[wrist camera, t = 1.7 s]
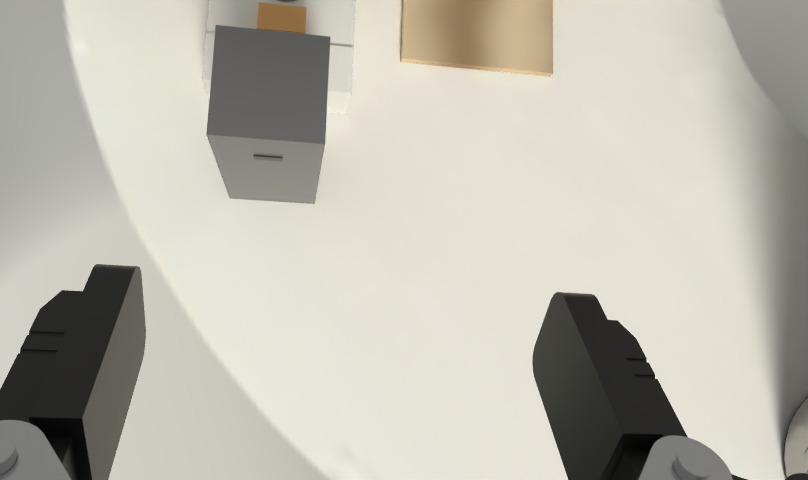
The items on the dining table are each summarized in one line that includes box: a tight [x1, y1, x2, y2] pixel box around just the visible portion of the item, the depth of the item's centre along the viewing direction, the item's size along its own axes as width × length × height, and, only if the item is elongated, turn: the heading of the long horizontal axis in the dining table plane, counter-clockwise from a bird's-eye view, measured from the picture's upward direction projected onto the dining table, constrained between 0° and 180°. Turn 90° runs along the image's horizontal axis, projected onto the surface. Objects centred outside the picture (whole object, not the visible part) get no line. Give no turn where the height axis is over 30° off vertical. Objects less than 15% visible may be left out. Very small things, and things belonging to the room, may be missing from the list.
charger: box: [207, 25, 330, 204], centre depth 33 cm, size 4×7×11 cm
